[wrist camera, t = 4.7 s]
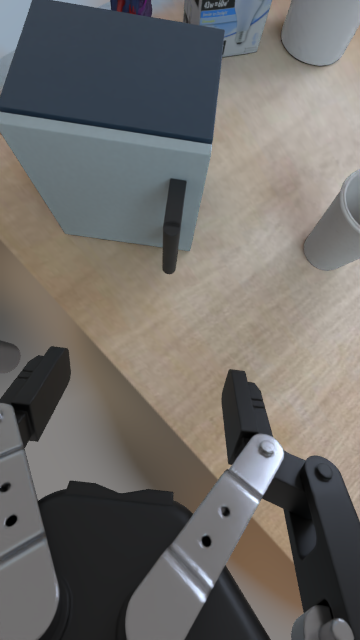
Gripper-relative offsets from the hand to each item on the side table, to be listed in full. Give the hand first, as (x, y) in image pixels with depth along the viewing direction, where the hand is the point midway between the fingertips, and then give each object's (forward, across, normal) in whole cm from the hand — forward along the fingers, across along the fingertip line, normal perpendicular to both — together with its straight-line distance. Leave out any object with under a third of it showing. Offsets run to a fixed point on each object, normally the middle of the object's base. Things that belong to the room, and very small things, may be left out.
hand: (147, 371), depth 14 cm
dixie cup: (+26, -20, 0) cm, 33 cm away
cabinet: (+29, +6, -3) cm, 30 cm away
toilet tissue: (+53, -18, -27) cm, 62 cm away
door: (+23, +6, +3) cm, 23 cm away
